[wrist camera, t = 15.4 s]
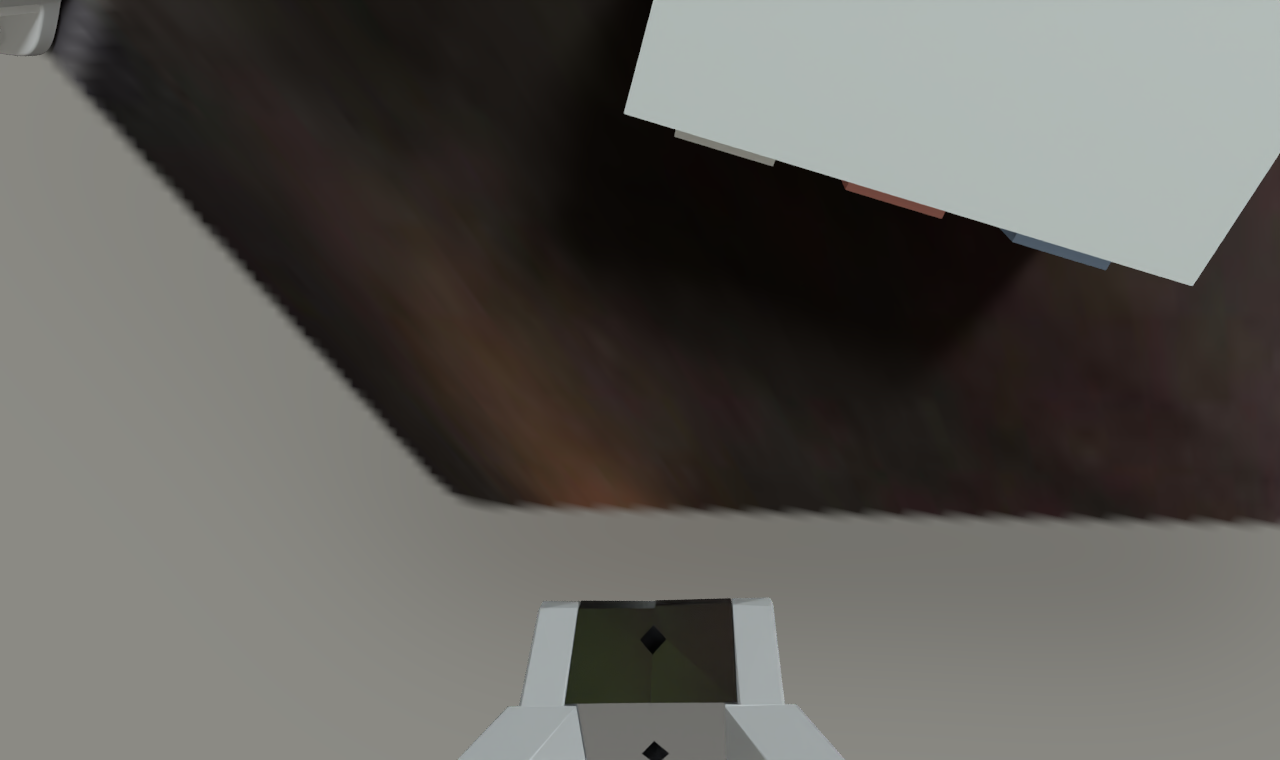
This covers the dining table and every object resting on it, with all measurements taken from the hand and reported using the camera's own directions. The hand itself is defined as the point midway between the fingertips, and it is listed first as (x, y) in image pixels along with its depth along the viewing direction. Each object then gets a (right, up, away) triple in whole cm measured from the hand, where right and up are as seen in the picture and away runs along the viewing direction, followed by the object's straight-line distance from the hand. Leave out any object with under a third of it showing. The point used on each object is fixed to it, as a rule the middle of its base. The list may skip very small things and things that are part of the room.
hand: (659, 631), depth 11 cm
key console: (+12, +19, +27) cm, 35 cm away
